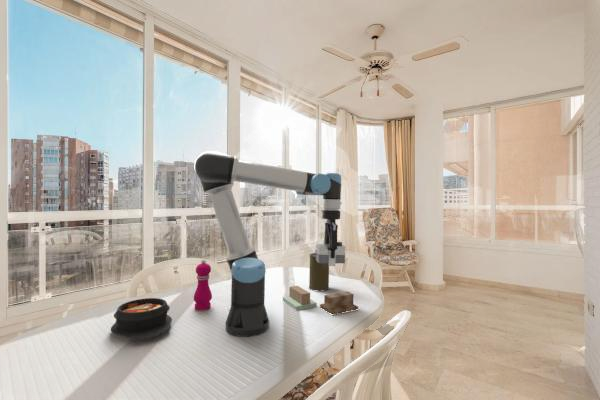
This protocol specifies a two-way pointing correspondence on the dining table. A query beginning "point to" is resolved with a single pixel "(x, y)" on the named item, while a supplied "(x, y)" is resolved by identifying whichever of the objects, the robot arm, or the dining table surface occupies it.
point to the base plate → (326, 258)
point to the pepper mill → (203, 287)
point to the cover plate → (323, 248)
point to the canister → (318, 274)
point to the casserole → (142, 318)
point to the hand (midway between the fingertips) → (329, 263)
